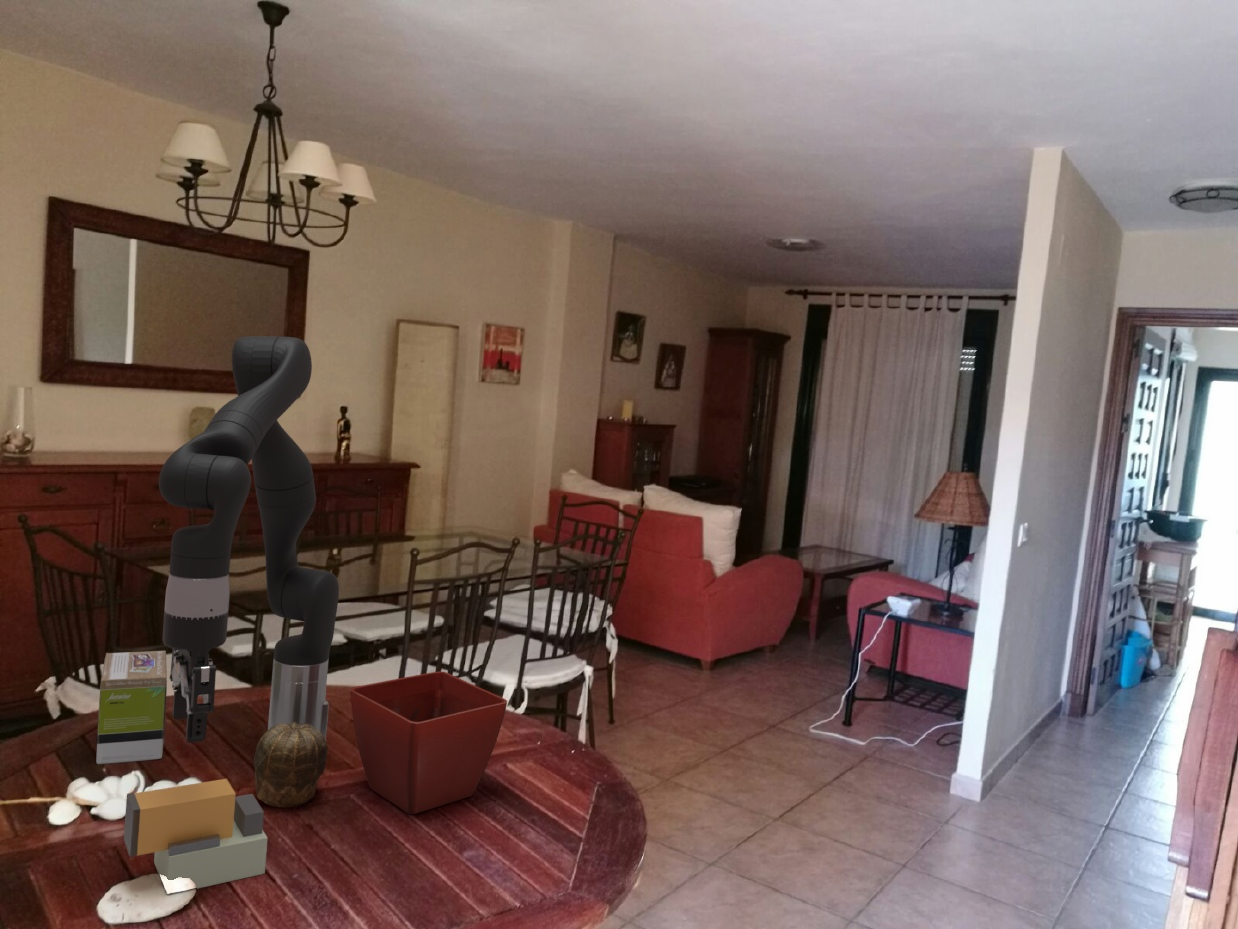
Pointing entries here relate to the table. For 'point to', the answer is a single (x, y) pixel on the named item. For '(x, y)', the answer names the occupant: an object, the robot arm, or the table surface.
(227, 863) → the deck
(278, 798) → the shell
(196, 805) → the orange rectangular block
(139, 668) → the tea box
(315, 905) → the table surface
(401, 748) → the plant pot
